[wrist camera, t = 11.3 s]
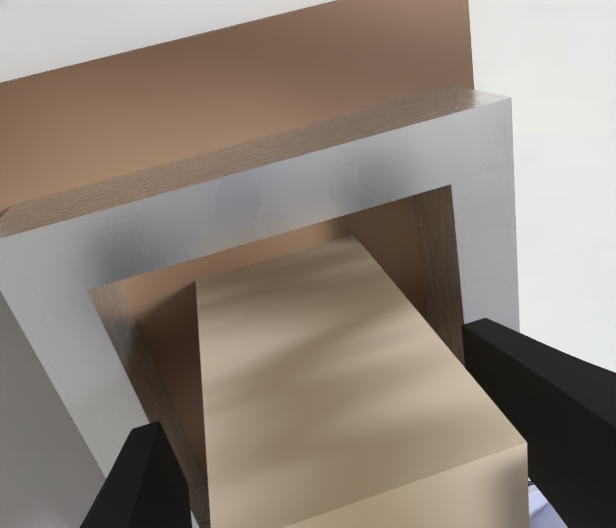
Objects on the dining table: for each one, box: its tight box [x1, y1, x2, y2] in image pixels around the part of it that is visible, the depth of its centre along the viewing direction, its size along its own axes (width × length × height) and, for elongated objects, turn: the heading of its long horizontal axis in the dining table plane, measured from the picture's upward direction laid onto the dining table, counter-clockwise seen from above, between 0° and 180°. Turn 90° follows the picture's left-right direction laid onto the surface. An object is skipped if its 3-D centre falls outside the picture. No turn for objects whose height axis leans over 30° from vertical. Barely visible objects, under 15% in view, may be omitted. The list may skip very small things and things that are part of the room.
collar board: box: [0, 0, 520, 528], centre depth 14 cm, size 16×12×3 cm
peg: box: [196, 234, 529, 528], centre depth 11 cm, size 4×4×8 cm
